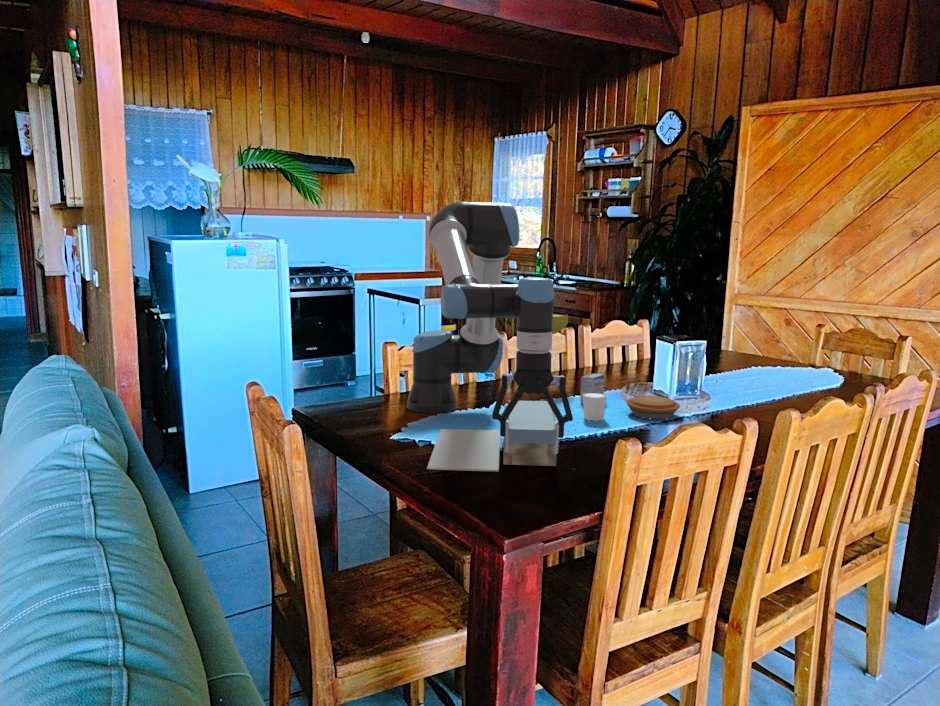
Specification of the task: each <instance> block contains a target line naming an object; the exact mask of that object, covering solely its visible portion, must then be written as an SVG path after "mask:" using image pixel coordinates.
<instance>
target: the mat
mask: <svg viewBox="0 0 940 706" xmlns="http://www.w3.org/2000/svg"><path fill="white" fill-rule="evenodd" d="M500 444H501V435H500V430H499V429H498V430H497V429H494V430H493V429H491V430H490V429H462V428H461V429H457V428H456V429H454V428H453V429H452V428H451V429H450V428H440V430H439V432H438V436H437V438H436V441H435V444H434V448H433V450H432V452H431V456H430V458H429V461H428V465H427V467H426V470H435V471H460V472H461V471H465V472H467V471H468V472H469V471H470V472H496V473H498V472H499V471H500V446H501V445H500Z"/></svg>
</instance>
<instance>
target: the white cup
mask: <svg viewBox="0 0 940 706" xmlns="http://www.w3.org/2000/svg"><path fill="white" fill-rule="evenodd" d="M607 398H608V397H607V395H606V394H605V393H604V394H601V393H585V394H583V403H582V404H583V407H582V409H583V419H584V420H587V421H590V420H593V421H592V422H599V421H598V420H601V421H604V419H605V414H606V413H605V412H606V406H607V405H606V404H607Z"/></svg>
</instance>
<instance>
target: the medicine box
mask: <svg viewBox="0 0 940 706" xmlns="http://www.w3.org/2000/svg"><path fill="white" fill-rule="evenodd" d="M604 391H605V374H602V373H590V374H587V375H584V376H581V377H580V395H579V396H580V400H579V402H581V404H583V394H585V393H601V394H605V393H604Z"/></svg>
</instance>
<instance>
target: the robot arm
mask: <svg viewBox="0 0 940 706" xmlns="http://www.w3.org/2000/svg"><path fill="white" fill-rule="evenodd" d="M428 235H429V236H428V237H429V241H430V245H431V247H433V249H434V250H436V253H437V257H438V259H439V264H440V268H441V270H442V275H443V278H444V282H445V285H442V287H441V291H440V307H441V314H442V316H443V317H444V318H446V319H457V320H463V319H466V323H465V324H464V325H463V326H462V327H461V328H460V331H459V334H453V333H452V331H451V330H449V329H442V330H441V329H437V330H430V331H425V332H421V333H419V334H416V336H414V338H413V343H412V350H411V351H412V354H413V358H412V361H413V362H412V364H413V365H412V385H411V388H410V392H409V394H408V396H407V397H408V398H407V401H406V402H407V403H406V404H407V405H406V406H407V407H406V408H407V409H408V410H409V411H412V412H416V413H423V414H442V413H441V412H443V413H448V411H449V412H452V411H455V410H456V409H457V407H458V404H457V403H458V401H457V397H456V396H457V395H456V393H455V391H454V387H453V384H452V374H473V373H474V374H475V373H477V374H478V373H479V374H486V373H494V372H495V371H497V370H498V369H499V368H500V365H501V363H502V359H503V355H504V352H503V349H504V341H503V338H502V336H501V335H500V334H499V331H498V330H497V328H496V320H497V319H516V348H517V349H518V351H516V355H515V358H516V359H515V361H516V362H515V372H514V373H513V374H506V373H503V374H501V377H500V378H501V386H500V387H499V388H500V389H499V392H498V395H497V398H496V401H495V404H494V407H493V411H492V413H491V414H492V415H491V419H492V420H496V421H497V422H498V421H499V428H500V437H504V436H505V452H509V420H507V418H508V417H509V415H510V413H511V412H512V410H513V409H514V407H515V405H516V404H517V402H518V401H520V399H521V397H522V396H523V395H524V394H526V395H532V394H535V395H541V394H542V395H543V397H544V398H545V401H547V402H548V404H549V405H550V407H551V409H552V411H553V413H554V416H555V419H556V421H555V428H556V444H554V453H555V454H556V455H557V454H559V438H560V439H563V438H564V435H565V424H566V423H568V422H572V421H573V420H574V417H573V413H572V410H571V406H570V402H569V397H568V395H567V391H566V380H567V379H566V377H565V375H564V374H561V375H553V373H552V352H551V350H552V349H553V334H552V325H553V312H554V300H555V292H554V289H555V287H554V281H553V280H552V279H551V278H548V277H546V278H544V277H522V278H519V280H518V282H517V283H512V284H502V283H501V282H502V274H503V269H504V268H503V267H504V259H506V258H507V257H509V256H510V254H511V249H512V248H514V247H517V246H518V245H519V242H520V222H519V217H518V212H517V209H516V207H515V206H514V205H513V204H512V203H508V202H500V201H497V202H489V201H487V202H486V201H485V202H484V201H483V202H482V201H455V202H452V203H449V204H447V205H446V206H444V207H442V208H440V210H438V212H436V214H435V215H434V217H432V220H431V221H430V224H429V228H428ZM470 254H472V257H471V255H470ZM512 381H514V382H515V383H516V385H517V386H518V387H517V389H516V390H515V392H514V394H513V395H512V398H510V402H509V401H508V403H507V404H506V408H505V410H503V412H502V413H500V411H501V408H502V405H503V402H504V398H505V396H506V393H507V389H508V386H511V383H512ZM552 381H554V382H555V384H554V385H555V386H556V387H558V390H559V393H560V397H561V401H562V406H563V409H564V412H565V415H562V413H561V411H560V409H559V407H558V405H557V404H556V402H555V400H554V398H553V396H552V395H551V393H550V391H549V389H548V387H549V385H550V384H551V382H552ZM550 386H551V385H550Z"/></svg>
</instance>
